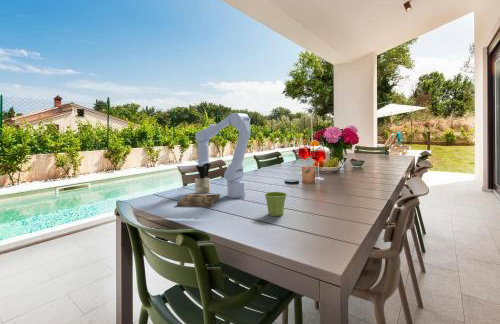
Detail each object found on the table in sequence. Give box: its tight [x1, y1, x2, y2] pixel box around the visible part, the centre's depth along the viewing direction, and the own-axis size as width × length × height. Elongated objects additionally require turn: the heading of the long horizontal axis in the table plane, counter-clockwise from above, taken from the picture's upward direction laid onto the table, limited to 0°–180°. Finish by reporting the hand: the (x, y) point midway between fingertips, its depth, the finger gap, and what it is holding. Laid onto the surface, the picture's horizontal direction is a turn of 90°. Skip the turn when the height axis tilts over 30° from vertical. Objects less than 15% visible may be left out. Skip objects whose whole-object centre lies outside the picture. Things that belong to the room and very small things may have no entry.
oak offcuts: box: [187, 193, 208, 203], centre depth 132 cm, size 9×3×4 cm, turn 84°
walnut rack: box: [176, 192, 221, 208], centre depth 137 cm, size 16×18×3 cm
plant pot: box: [264, 191, 288, 217], centre depth 118 cm, size 9×9×9 cm
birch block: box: [194, 177, 211, 194], centre depth 157 cm, size 8×2×9 cm, turn 84°
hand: (204, 177), depth 157 cm, fingers open, 7 cm apart
